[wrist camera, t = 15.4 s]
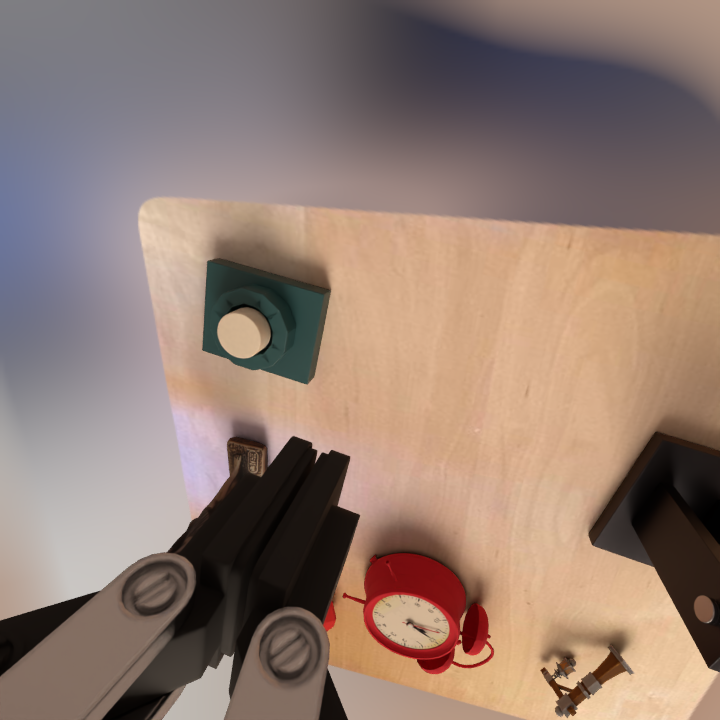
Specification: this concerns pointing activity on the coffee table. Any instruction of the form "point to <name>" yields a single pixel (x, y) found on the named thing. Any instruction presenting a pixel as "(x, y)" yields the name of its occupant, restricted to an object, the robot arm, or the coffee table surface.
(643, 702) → the coffee table surface
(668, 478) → the black lever base
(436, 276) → the coffee table surface
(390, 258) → the coffee table surface
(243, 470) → the statue
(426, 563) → the alarm clock
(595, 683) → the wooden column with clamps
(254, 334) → the power button
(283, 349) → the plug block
